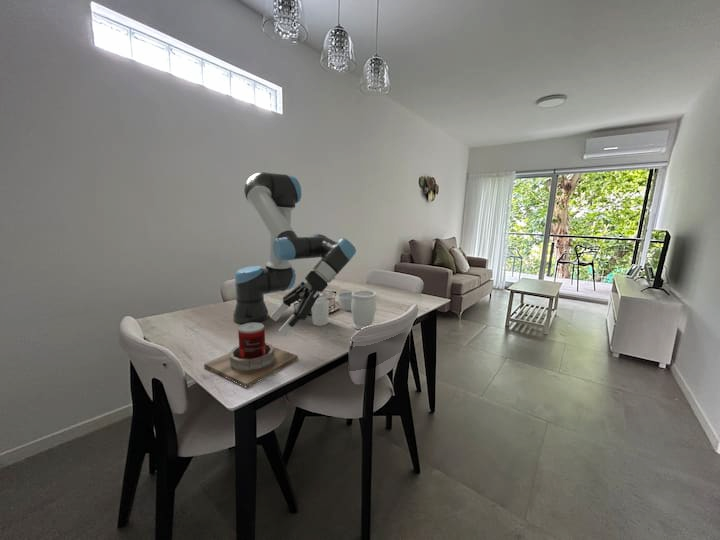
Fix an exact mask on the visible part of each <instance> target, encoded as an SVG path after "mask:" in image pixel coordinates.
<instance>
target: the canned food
mask: <svg viewBox="0 0 720 540" xmlns="http://www.w3.org/2000/svg"><path fill="white" fill-rule="evenodd" d="M265 331H266V330H265V325H264V324H263V323H262V322H256V323H246V324H244V323H242V324H241V325H240V326H238V331H237V333H238V346H239V351H240V359H253V358H258V357H261V356H264V355H265V343H266V335H265V334H266V333H265Z"/></svg>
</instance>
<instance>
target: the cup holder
mask: <svg viewBox="0 0 720 540" xmlns="http://www.w3.org/2000/svg"><path fill="white" fill-rule="evenodd" d="M296 359H297V360H299V356H298V355H297V354H294V353H292V352H289V351H286V350H283V349H280V348H277V347H275V346H273V344H271V343H268V342H265V355H264V356H261V357H258V358H253V359H240V351H239V345H237V346H236V347H234V348H233V349H231V350H230V352H229V353H226V354H224V355H222V356H220V357H217V358H214V359H212V360H209V361H207V362H205V363H204V364H203V368H205V367H206V368H205V369H207V368H208V369H207V370H209V369H210V371H211V370H212V371H211V372H213V371H214V372H213V373H215V372H216V373H215V374H217V373H218V374H217V375H219V374H220V375H219V376H221V375H222V376H221V377H223V376H224V377H223V378H225V377H227V378H229V379H231V380H233V381H235V382H237V383H239V384H241V385H243V386H246V387H247V386H249V385H251V384H253V383H254V382H256V381H258V380H260V379H262V378H263V379H265V378H266V376H267V377H268V375H269V376H270V375H272V374H274V373H275V371H276V372H277V371H279V370H281V369H282V367H283V368H284V367H286V366H288V365H289V363H290V364H292V363H293V362H295V361H297V360H296ZM294 360H295V361H294ZM292 361H293V362H292ZM291 362H292V363H291ZM280 368H281V369H280ZM278 369H279V370H278ZM273 372H274V373H273ZM264 377H265V378H264ZM227 378H226V379H227ZM229 379H228V380H229ZM263 379H262V380H263ZM231 380H230V381H231ZM233 381H232V382H233ZM260 381H261V380H260ZM235 382H234V383H235ZM258 382H259V381H258ZM237 383H236V384H237ZM256 383H257V382H256ZM239 384H238V385H239ZM254 384H255V383H254ZM254 384H253V385H254ZM241 385H240V386H241ZM243 386H242V387H243ZM251 386H252V385H251ZM249 387H250V386H249ZM247 388H248V387H247Z"/></svg>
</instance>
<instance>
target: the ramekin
mask: <svg viewBox="0 0 720 540" xmlns="http://www.w3.org/2000/svg"><path fill="white" fill-rule="evenodd" d="M352 292H353V291H347V292H341V293H338V294H337V298H338V306H339V308H340V310H342V311H345V310H346V311H347V312H352V311H351V303H352V298H353V297H352ZM346 311H345V312H346Z"/></svg>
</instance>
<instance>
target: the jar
mask: <svg viewBox="0 0 720 540" xmlns="http://www.w3.org/2000/svg"><path fill="white" fill-rule="evenodd" d="M351 292H352V297H353V298H352V303H351V311H350V312H351V317H352V320H353V328H354V329H355V330H359V329H361V328H363V327H366V326H369V325H373V321H374V319H375V314H376V306H377V303H376V297H377V293H376V292H375V291H370V290H355V291H351ZM359 331H360V330H359Z"/></svg>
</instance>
